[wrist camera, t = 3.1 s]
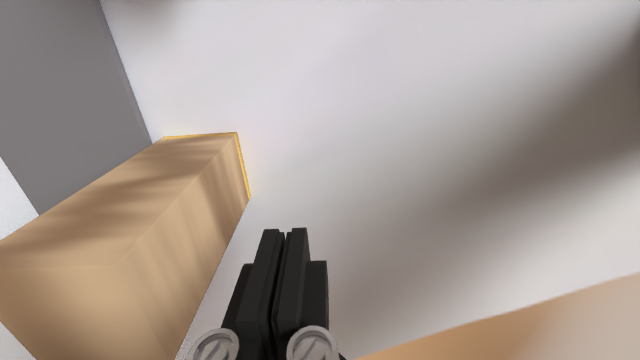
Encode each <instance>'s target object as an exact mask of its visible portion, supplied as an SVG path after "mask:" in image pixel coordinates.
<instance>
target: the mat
mask: <svg viewBox="0 0 640 360" xmlns="http://www.w3.org/2000/svg"><path fill="white" fill-rule="evenodd" d="M151 145H152V142H151V139H150V136H149V134H148V131H147V128H146V126H145V123H144V120H143V118H142V115H141V112H140V110H139V107H138V104H137V102H136V99H135V96H134V94H133V91H132V88H131V86H130V83H129V80H128V78H127V75H126V72H125V70H124V67H123V64H122V62H121V59H120V56H119V54H118V51H117V48H116V46H115V43H114V40H113V38H112V35H111V32H110V30H109V27H108V24H107V22H106V19H105V16H104V14H103V11H102V8H101V6H100V3H99V0H0V157H1V158H2V160H3V161H4V163H5V164H6V166H7V167H8V169H9V170H10V172H11V173H12V175H13V176H14V178H15V179H16V181H17V182H18V184H19V185H20V187H21V188H22V190H23V191H24V193H25V194H26V196H27V197H28V199H29V200H30V202H31V203H32V205H33V206H34V208H35V209H36V211H37V213H38V214H39V216H40V215H42V214H43V213H45V212H46V211H48V210H50V209H51V208H53V207H54V206H56V205H57V204H59V203H61V202H62V201H64V200H65V199H67V198H68V197H70V196H72V195H73V194H75V193H76V192H78V191H80V190H81V189H83V188H84V187H86V186H87V185H89V184H91V183H92V182H94V181H95V180H97V179H98V178H100V177H102V176H103V175H105V174H106V173H108V172H110V171H111V170H113V169H114V168H116V167H117V166H119V165H121V164H122V163H124V162H125V161H127V160H128V159H130V158H132V157H133V156H135V155H136V154H138V153H140V152H141V151H143V150H144V149H146V148H147V147H149V146H151Z"/></svg>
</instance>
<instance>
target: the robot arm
mask: <svg viewBox="0 0 640 360" xmlns="http://www.w3.org/2000/svg"><path fill="white" fill-rule="evenodd" d="M185 360H346V359H345V358H344V357H343V356H342V355H341V354H340V353H339V352H338V348H337V344H336V341H335V338H334V337H333V335H332V334H331V333H330V332H329V298H328V274H327V262H326V261H310V252H309V244H308V235H307V228H293V229H292V232H287V236H286V241H285V235H284V232H280V231H279V229H265V230H264V231H263V234H262V238H261V241H260V244H259V247H258V250H257V253H256V257H255V260H254V263H252V264H244V265H243V267H242V270H241V272H240V275H239V278H238V281H237V284H236V286H235V289H234V292H233V295H232V298H231V300H230V303H229V306H228V309H227V312H226V314H225V317H224V320H223V323H222V326H221V328H219V329H215V330H212V331H210V332H208V333H206V334H204V335H203V336H202V337H201V338H200V339H198V340H197V341H196V343H195V344H194V345H193V347H192V348H191V350H190V351H189V353H188V355H187V357H186V358H185Z"/></svg>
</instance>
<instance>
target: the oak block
mask: <svg viewBox="0 0 640 360" xmlns="http://www.w3.org/2000/svg"><path fill="white" fill-rule="evenodd" d="M250 197H251V194H250V190H249V185H248V180H247V176H246V171H245V167H244V162H243V158H242V153H241V149H240V144H239V140H238V135H237V132H231V133H215V134H199V135H183V136H167V137H163V138H162V139H160V140H158V141H157V142H155V143H154V144H152V145H151V146H149V147H147V148H146V149H144V150H143V151H141V152H140V153H138V154H136V155H135V156H133V157H132V158H130V159H128V160H127V161H125V162H124V163H122V164H121V165H119V166H117V167H116V168H114V169H113V170H111V171H110V172H108V173H106V174H105V175H103V176H102V177H100V178H98V179H97V180H95V181H94V182H92V183H91V184H89V185H87V186H86V187H84V188H83V189H81V190H80V191H78V192H76V193H75V194H73V195H72V196H70V197H68V198H67V199H65V200H64V201H62V202H61V203H59V204H57V205H56V206H54V207H53V208H51V209H50V210H48V211H46V212H45V213H43V214H42V215H40V216H38V217H37V218H35V219H34V220H32V221H31V222H29V223H27V224H26V225H24V226H23V227H21V228H19V229H18V230H16V231H15V232H13V233H12V234H10V235H8V236H7V237H5V238H4V239H2V240H1V241H0V322H1V323H2V324H3V325H4V326H5V327H6V328H7V329H8V330H9V331H10V332H11V333H12V334H13V335H14V336H15V337H16V339H17V340H18V341H19V342H20V343H21V344H22V345H23V346H24V347H25V348H26V349H27V350H28V351H29V352H30V353H31V354H32V355H33V356H34V357H35V359H36V360H174V359H175V357H176V355H177V353H178V351H179V349H180V346H181V344H182V342H183V340H184V338H185V336H186V334H187V331H188V329H189V327H190V325H191V323H192V321H193V319H194V316H195V314H196V312H197V310H198V308H199V306H200V304H201V302H202V299H203V297H204V295H205V293H206V291H207V289H208V287H209V284H210V282H211V280H212V278H213V276H214V274H215V272H216V270H217V267H218V265H219V263H220V261H221V259H222V257H223V255H224V252H225V250H226V248H227V246H228V244H229V242H230V240H231V237H232V235H233V233H234V231H235V229H236V227H237V225H238V223H239V220H240V218H241V216H242V214H243V212H244V210H245V208H246V205H247V203H248V201H249V199H250Z"/></svg>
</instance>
